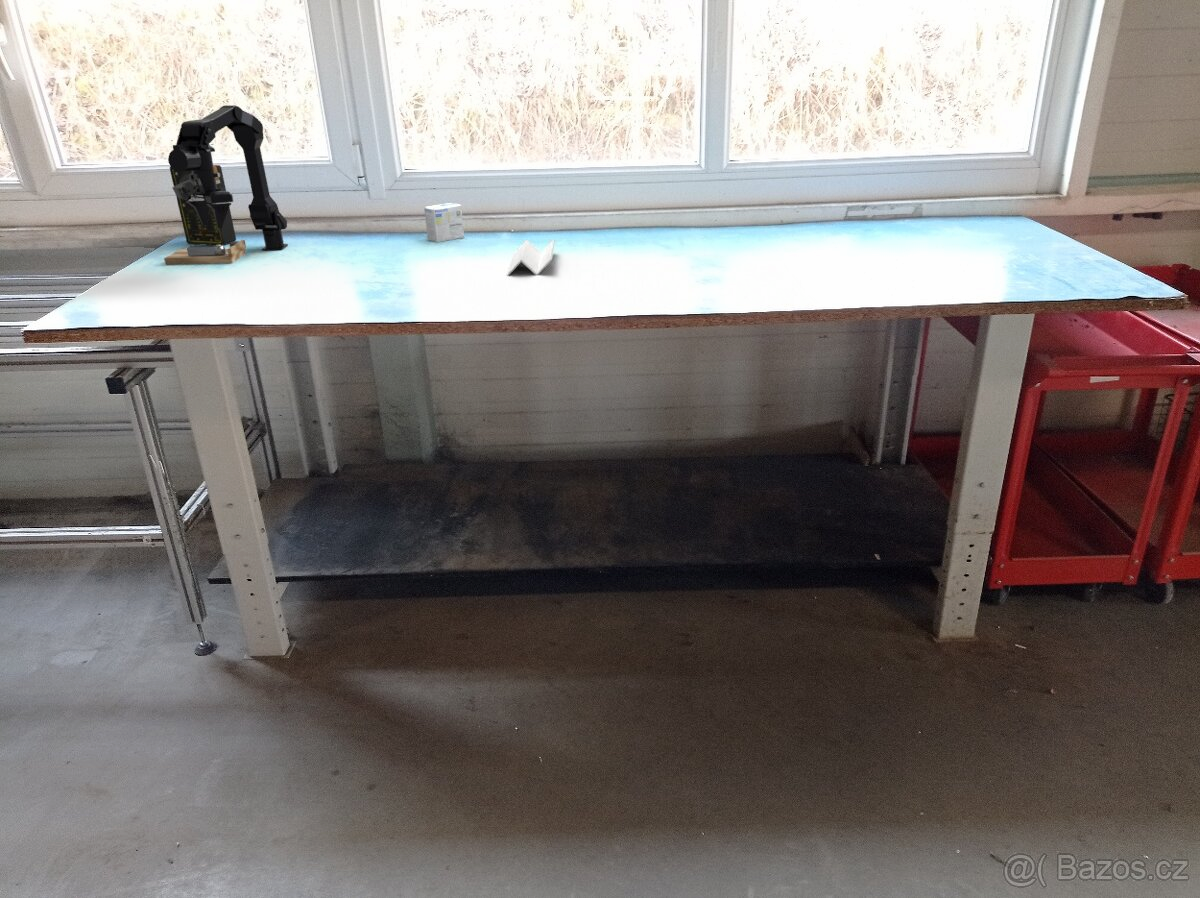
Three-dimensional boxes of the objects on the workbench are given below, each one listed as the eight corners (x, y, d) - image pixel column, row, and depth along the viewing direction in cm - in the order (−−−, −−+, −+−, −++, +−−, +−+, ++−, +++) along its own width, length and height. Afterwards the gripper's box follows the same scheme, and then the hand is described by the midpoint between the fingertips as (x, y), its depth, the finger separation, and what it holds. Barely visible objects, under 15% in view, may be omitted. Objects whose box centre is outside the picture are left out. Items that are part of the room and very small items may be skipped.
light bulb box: (454, 234, 288) (451, 201, 283) (465, 237, 283) (462, 204, 278) (426, 239, 282) (423, 206, 277) (436, 242, 277) (433, 209, 272)
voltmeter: (183, 244, 282) (165, 166, 271) (201, 239, 289) (184, 162, 278) (223, 247, 278) (206, 167, 266) (240, 241, 285) (224, 163, 274)
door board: (182, 255, 268) (179, 241, 266) (247, 253, 269) (245, 239, 267) (165, 264, 257) (162, 250, 255) (233, 263, 258) (230, 249, 256)
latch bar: (227, 252, 260) (225, 243, 259) (223, 255, 257) (221, 245, 256) (192, 253, 260) (189, 244, 259) (187, 256, 257) (185, 246, 256)
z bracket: (523, 290, 241) (506, 275, 239) (528, 268, 263) (513, 254, 261) (551, 260, 237) (535, 244, 235) (554, 239, 259) (539, 225, 257)
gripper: (158, 169, 237) (169, 227, 243) (188, 172, 225) (199, 232, 231) (198, 168, 245) (207, 223, 250) (229, 170, 233) (238, 228, 239)
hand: (212, 227), depth 242 cm, fingers open, 9 cm apart
